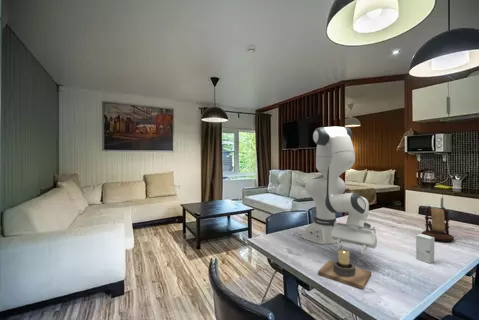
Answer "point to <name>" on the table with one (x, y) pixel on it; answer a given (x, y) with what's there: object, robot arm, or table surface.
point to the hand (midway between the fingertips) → (349, 251)
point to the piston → (343, 258)
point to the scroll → (438, 224)
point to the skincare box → (425, 248)
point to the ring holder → (345, 274)
